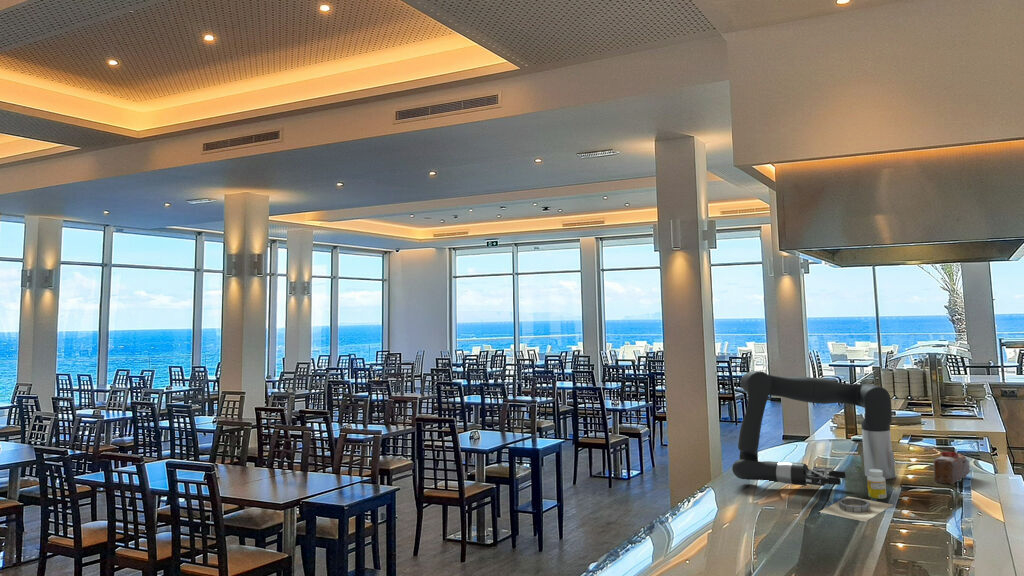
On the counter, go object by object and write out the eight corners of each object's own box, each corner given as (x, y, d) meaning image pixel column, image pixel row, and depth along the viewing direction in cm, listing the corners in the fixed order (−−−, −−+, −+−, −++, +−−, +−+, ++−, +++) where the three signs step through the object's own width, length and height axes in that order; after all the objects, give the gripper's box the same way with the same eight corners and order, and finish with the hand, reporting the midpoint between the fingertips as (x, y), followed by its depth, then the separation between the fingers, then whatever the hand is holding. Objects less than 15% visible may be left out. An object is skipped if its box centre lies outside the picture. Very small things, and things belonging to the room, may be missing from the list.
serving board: (848, 499, 221) (847, 496, 221) (893, 508, 210) (893, 504, 210) (818, 515, 208) (818, 511, 208) (865, 525, 197) (865, 521, 197)
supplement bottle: (885, 503, 215) (882, 473, 215) (866, 500, 219) (864, 471, 219) (888, 498, 219) (886, 469, 220) (870, 496, 223) (868, 467, 223)
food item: (946, 473, 242) (944, 446, 243) (972, 477, 236) (970, 449, 236) (932, 482, 234) (930, 453, 234) (958, 486, 228) (956, 457, 228)
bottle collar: (866, 504, 212) (865, 498, 212) (873, 513, 204) (872, 507, 204) (836, 503, 214) (836, 497, 214) (842, 512, 206) (841, 506, 206)
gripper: (786, 467, 229) (838, 472, 219) (796, 458, 240) (845, 462, 231) (788, 489, 229) (839, 495, 219) (797, 478, 240) (847, 483, 231)
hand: (842, 478), depth 225 cm, fingers open, 8 cm apart
